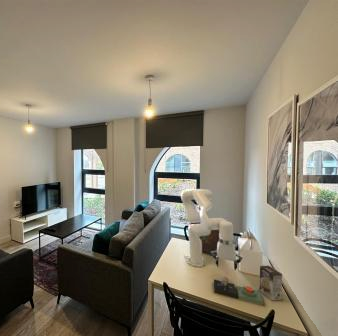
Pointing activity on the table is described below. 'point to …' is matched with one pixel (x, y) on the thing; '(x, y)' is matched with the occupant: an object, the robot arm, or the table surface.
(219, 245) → the robot arm
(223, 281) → the dial
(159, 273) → the table surface
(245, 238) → the gable box
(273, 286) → the coffee box
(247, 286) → the button
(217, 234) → the decorative book
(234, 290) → the control panel
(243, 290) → the button housing
